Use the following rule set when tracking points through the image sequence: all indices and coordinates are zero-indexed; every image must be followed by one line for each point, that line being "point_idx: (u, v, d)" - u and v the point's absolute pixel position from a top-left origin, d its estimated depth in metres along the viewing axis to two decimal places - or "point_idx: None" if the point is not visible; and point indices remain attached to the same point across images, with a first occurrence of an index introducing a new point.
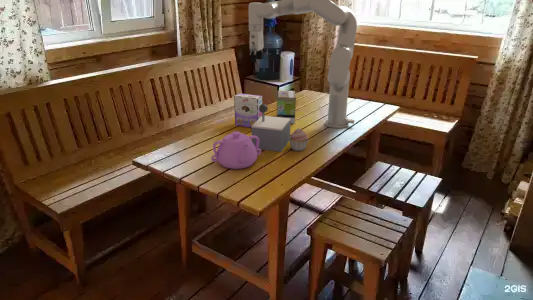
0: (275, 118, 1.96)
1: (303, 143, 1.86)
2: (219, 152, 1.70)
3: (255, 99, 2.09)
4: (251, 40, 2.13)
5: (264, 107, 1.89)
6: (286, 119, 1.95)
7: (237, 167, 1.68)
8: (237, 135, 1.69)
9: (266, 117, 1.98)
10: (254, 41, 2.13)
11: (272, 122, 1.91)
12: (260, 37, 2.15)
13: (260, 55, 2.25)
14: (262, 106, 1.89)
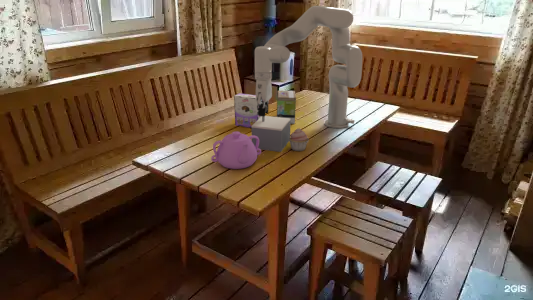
0: (275, 118, 1.96)
1: (303, 143, 1.86)
2: (219, 152, 1.70)
3: (255, 99, 2.09)
4: (258, 90, 1.83)
5: (264, 107, 1.89)
6: (286, 119, 1.95)
7: (237, 167, 1.68)
8: (237, 135, 1.69)
9: (266, 117, 1.98)
10: (261, 91, 1.82)
11: (272, 122, 1.91)
12: (268, 86, 1.85)
13: None
14: None
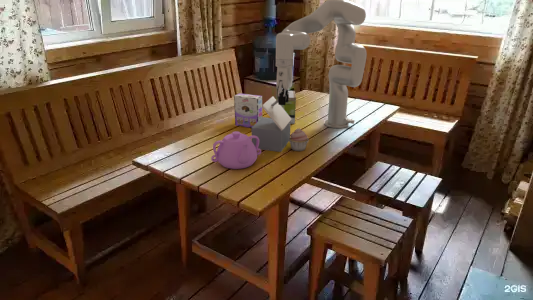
0: (281, 109, 1.94)
1: (303, 143, 1.86)
2: (219, 152, 1.70)
3: (255, 99, 2.09)
4: (279, 78, 1.78)
5: None
6: (288, 118, 1.94)
7: (237, 167, 1.68)
8: (237, 135, 1.69)
9: (275, 101, 1.94)
10: (282, 79, 1.77)
11: (278, 113, 1.89)
12: (289, 74, 1.80)
13: None
14: None
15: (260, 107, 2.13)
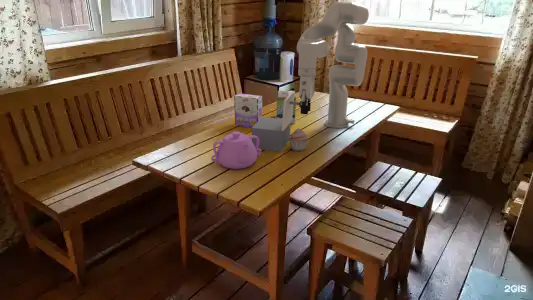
0: (292, 108, 1.92)
1: (303, 143, 1.86)
2: (219, 152, 1.70)
3: (255, 99, 2.09)
4: (302, 87, 1.76)
5: None
6: (290, 119, 1.94)
7: (237, 167, 1.68)
8: (237, 135, 1.69)
9: (293, 98, 1.90)
10: (305, 88, 1.76)
11: (288, 112, 1.87)
12: (312, 83, 1.78)
13: (308, 106, 1.86)
14: None
15: (260, 107, 2.13)
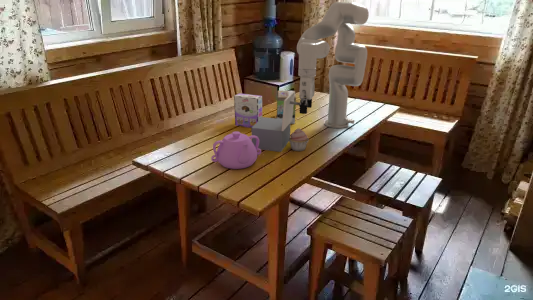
0: (292, 108, 1.92)
1: (303, 143, 1.86)
2: (219, 152, 1.70)
3: (255, 99, 2.09)
4: (302, 88, 1.76)
5: None
6: (290, 119, 1.94)
7: (237, 167, 1.68)
8: (237, 135, 1.69)
9: (293, 98, 1.90)
10: (305, 89, 1.76)
11: (288, 112, 1.87)
12: (312, 83, 1.78)
13: (309, 103, 1.87)
14: None
15: (260, 107, 2.13)
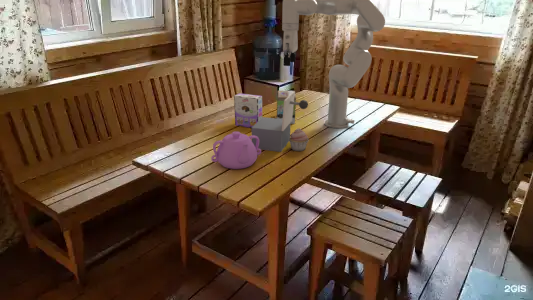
0: (292, 108, 1.92)
1: (303, 143, 1.86)
2: (219, 152, 1.70)
3: (255, 99, 2.09)
4: (285, 41, 1.90)
5: (304, 107, 1.83)
6: (290, 119, 1.94)
7: (237, 167, 1.68)
8: (237, 135, 1.69)
9: (293, 98, 1.90)
10: (289, 42, 1.90)
11: (288, 112, 1.87)
12: (295, 37, 1.92)
13: (293, 57, 2.01)
14: (305, 106, 1.82)
15: (260, 107, 2.13)
